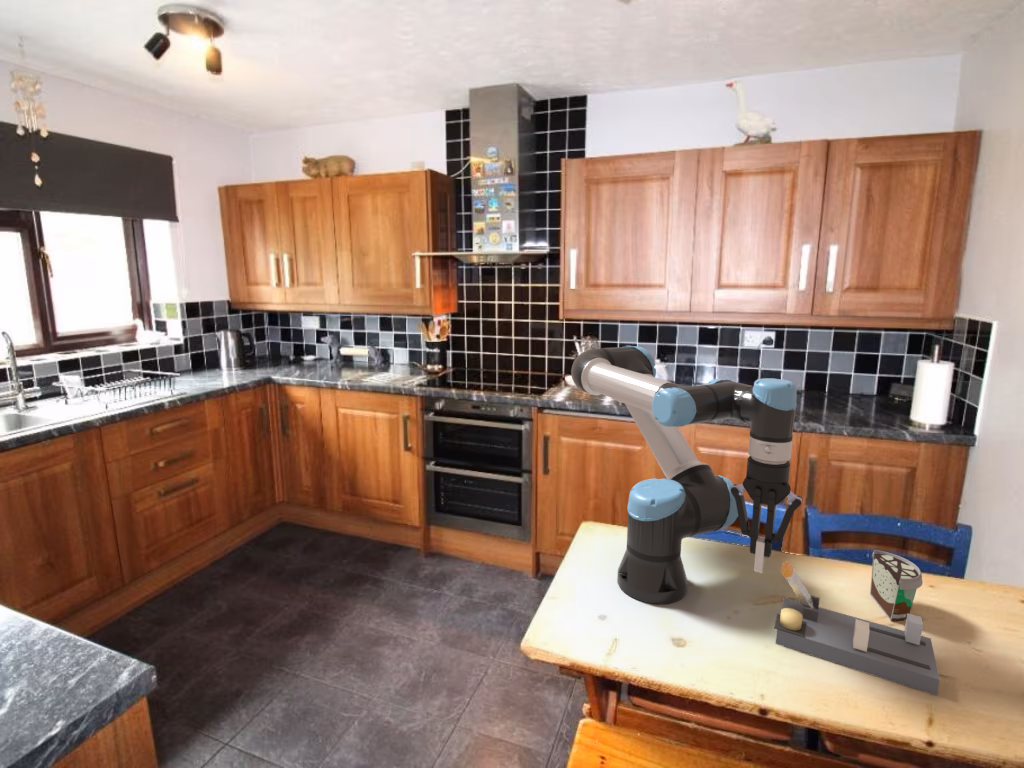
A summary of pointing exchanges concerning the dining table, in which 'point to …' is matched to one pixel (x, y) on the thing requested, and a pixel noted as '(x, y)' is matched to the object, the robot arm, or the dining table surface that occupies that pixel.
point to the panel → (883, 658)
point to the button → (791, 619)
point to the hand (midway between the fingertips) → (758, 568)
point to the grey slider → (913, 629)
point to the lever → (797, 585)
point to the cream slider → (861, 635)
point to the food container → (894, 584)
